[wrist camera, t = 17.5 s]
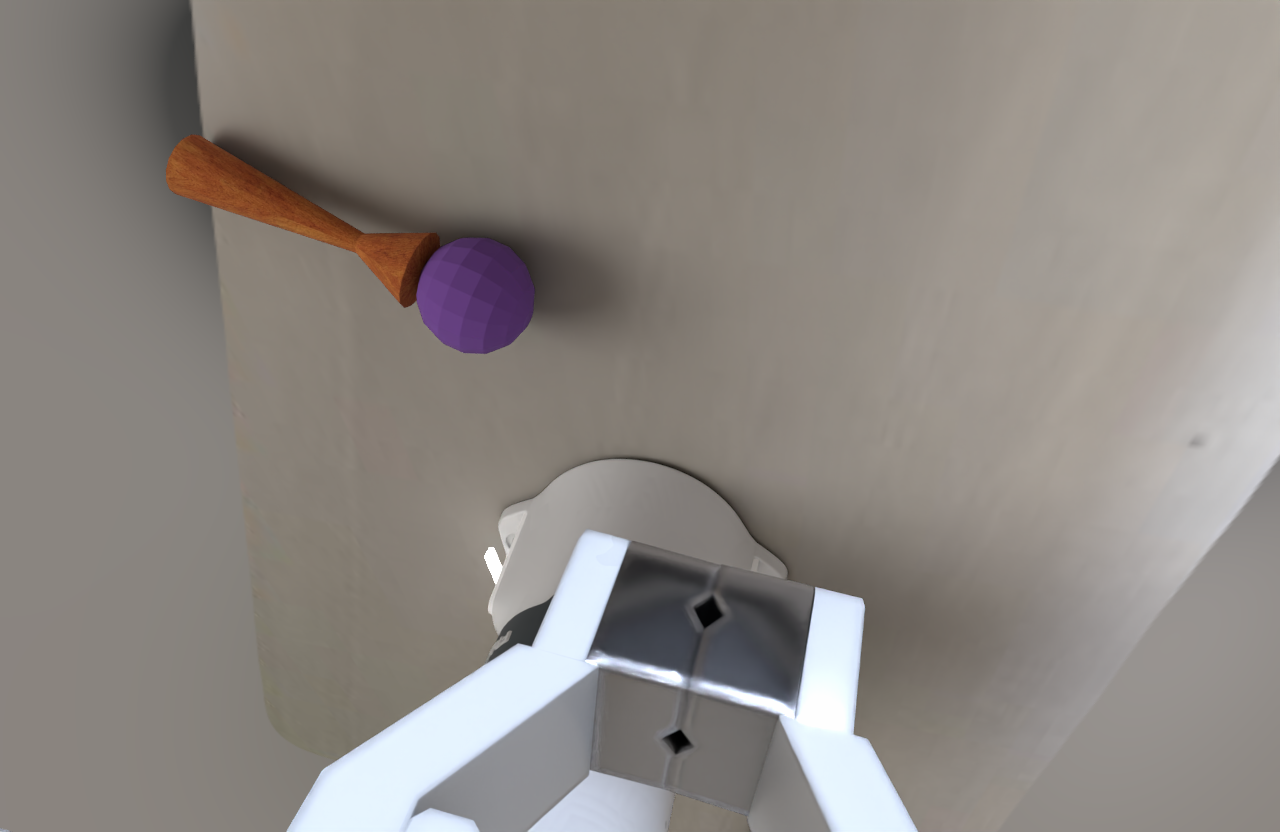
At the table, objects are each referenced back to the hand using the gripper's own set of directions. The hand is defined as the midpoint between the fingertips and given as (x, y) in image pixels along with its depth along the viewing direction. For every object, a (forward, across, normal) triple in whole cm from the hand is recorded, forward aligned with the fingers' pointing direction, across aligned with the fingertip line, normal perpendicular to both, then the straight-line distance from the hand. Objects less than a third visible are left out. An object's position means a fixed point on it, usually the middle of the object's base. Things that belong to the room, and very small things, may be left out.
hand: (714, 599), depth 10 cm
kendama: (+35, +23, +18) cm, 46 cm away
